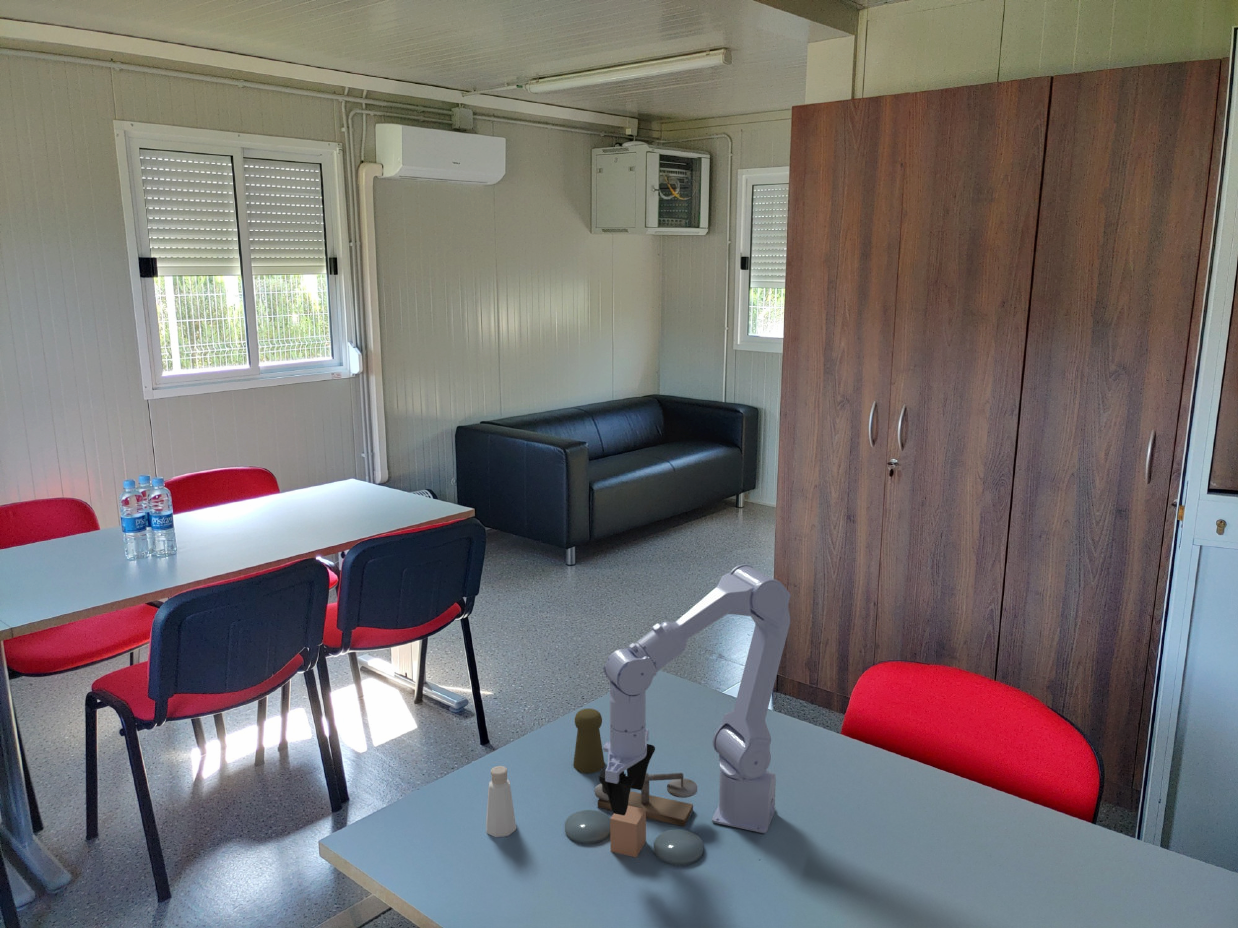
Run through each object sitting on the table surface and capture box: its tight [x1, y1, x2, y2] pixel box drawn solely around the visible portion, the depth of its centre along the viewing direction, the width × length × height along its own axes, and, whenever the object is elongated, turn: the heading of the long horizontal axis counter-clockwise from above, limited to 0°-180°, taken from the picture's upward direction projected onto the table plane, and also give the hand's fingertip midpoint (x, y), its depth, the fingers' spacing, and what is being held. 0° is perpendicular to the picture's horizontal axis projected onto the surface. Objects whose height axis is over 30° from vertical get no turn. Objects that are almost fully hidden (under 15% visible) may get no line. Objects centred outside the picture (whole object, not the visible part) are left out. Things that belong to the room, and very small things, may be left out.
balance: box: [594, 772, 698, 827], centre depth 162 cm, size 19×5×8 cm, turn 69°
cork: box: [572, 707, 606, 774], centre depth 176 cm, size 6×6×11 cm
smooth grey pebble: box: [653, 829, 704, 866], centre depth 151 cm, size 8×8×1 cm
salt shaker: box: [485, 765, 517, 838], centre depth 156 cm, size 5×5×11 cm
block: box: [609, 806, 647, 858], centre depth 152 cm, size 4×4×6 cm
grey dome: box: [564, 809, 611, 844], centre depth 157 cm, size 8×8×1 cm
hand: (627, 800), depth 150 cm, fingers open, 7 cm apart
